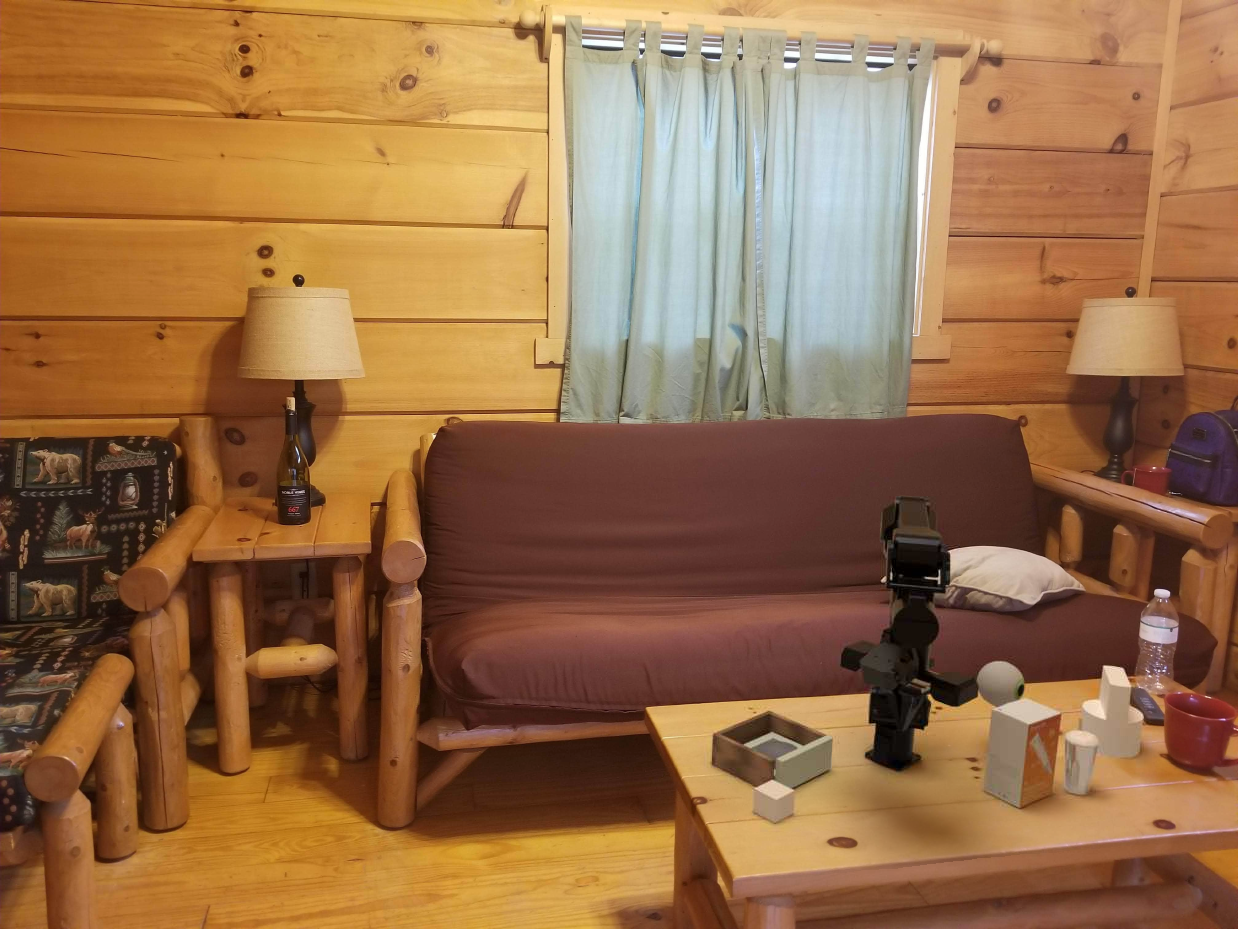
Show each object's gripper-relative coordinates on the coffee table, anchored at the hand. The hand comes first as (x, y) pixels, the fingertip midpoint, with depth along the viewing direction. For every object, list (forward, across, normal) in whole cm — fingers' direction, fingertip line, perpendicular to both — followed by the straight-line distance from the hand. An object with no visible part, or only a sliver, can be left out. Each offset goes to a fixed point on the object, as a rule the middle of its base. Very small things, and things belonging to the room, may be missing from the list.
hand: (901, 729), depth 139 cm
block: (+12, -10, -14) cm, 22 cm away
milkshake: (+12, +14, +26) cm, 32 cm away
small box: (+12, +9, +18) cm, 24 cm away
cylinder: (+11, -18, -4) cm, 22 cm away
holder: (+12, -20, -4) cm, 24 cm away
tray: (+12, -19, -4) cm, 23 cm away
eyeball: (+12, 0, +28) cm, 31 cm away
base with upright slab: (+12, +11, +45) cm, 48 cm away
